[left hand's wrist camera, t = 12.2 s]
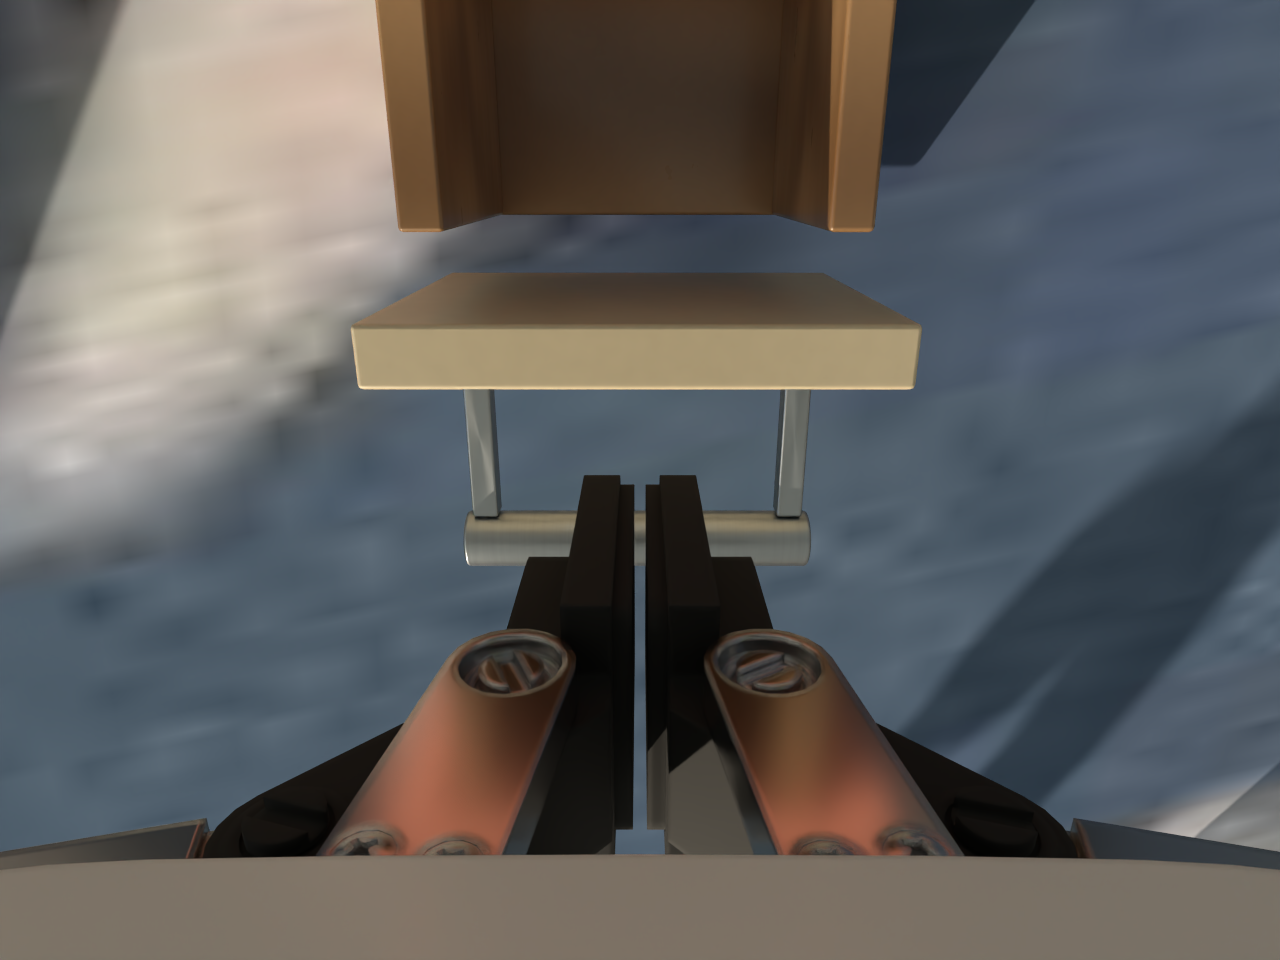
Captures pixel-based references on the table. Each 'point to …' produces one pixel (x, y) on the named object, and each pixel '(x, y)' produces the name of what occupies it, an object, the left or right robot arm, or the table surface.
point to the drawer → (636, 185)
